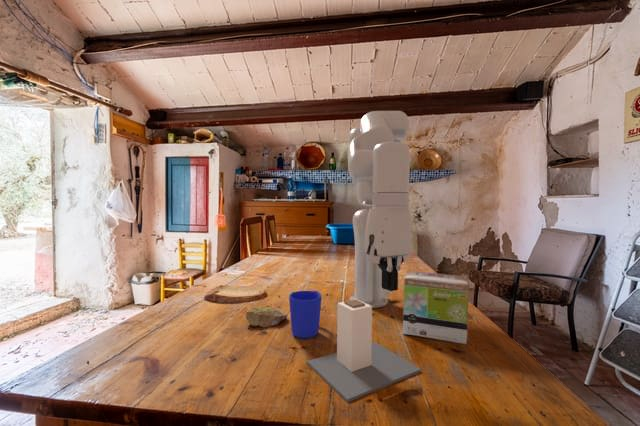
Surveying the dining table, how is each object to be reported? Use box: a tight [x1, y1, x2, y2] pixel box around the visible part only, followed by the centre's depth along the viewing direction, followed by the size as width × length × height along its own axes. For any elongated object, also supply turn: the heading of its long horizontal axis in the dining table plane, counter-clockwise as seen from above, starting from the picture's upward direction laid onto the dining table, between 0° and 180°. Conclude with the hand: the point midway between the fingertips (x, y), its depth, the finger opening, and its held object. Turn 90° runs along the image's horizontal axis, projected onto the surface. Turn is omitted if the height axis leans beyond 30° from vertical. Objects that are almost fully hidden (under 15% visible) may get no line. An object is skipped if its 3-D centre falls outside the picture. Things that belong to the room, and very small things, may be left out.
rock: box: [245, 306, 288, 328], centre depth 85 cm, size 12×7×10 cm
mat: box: [306, 340, 422, 403], centre depth 60 cm, size 18×14×1 cm
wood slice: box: [203, 284, 269, 304], centre depth 106 cm, size 18×18×4 cm
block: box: [336, 299, 373, 372], centre depth 61 cm, size 5×5×12 cm
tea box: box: [402, 270, 470, 345], centre depth 77 cm, size 15×10×15 cm, turn 70°
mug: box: [288, 290, 322, 339], centre depth 77 cm, size 8×12×10 cm
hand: (389, 289), depth 63 cm, fingers closed
